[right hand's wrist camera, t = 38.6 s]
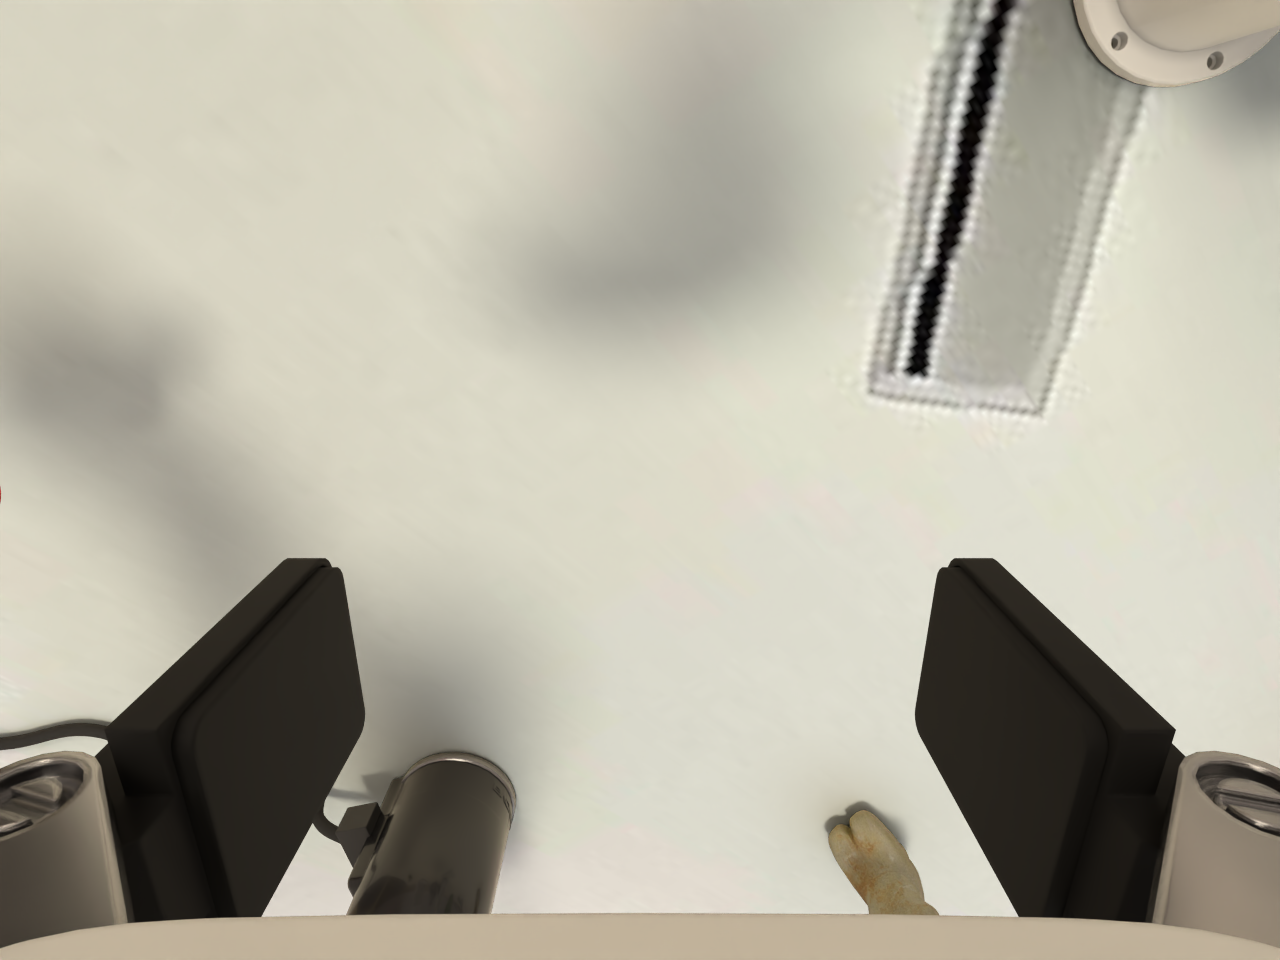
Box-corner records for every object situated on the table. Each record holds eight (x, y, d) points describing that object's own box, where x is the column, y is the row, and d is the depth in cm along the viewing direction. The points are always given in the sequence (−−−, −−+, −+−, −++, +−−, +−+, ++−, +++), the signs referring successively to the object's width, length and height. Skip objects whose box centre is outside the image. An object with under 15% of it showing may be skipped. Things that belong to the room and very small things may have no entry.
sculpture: (871, 792, 57) (947, 980, 43) (920, 844, 59) (1008, 1040, 45) (812, 828, 58) (868, 1022, 44) (862, 878, 60) (930, 1079, 46)
